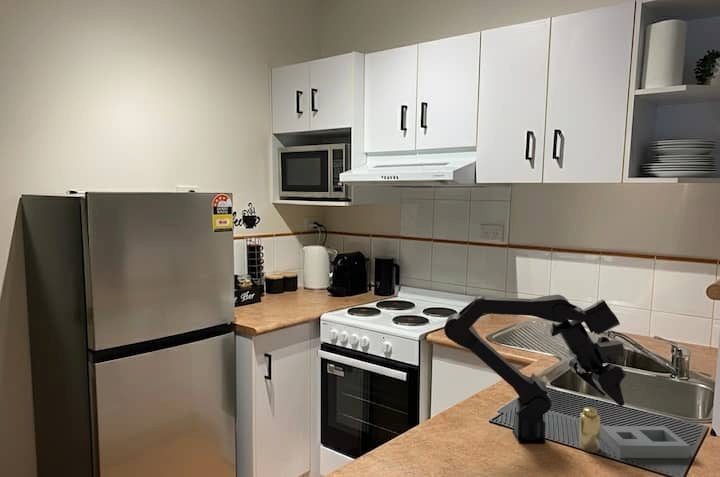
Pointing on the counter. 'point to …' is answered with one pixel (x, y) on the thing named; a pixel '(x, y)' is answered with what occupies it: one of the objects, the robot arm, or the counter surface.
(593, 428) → the brass fitting
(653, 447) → the socket block
